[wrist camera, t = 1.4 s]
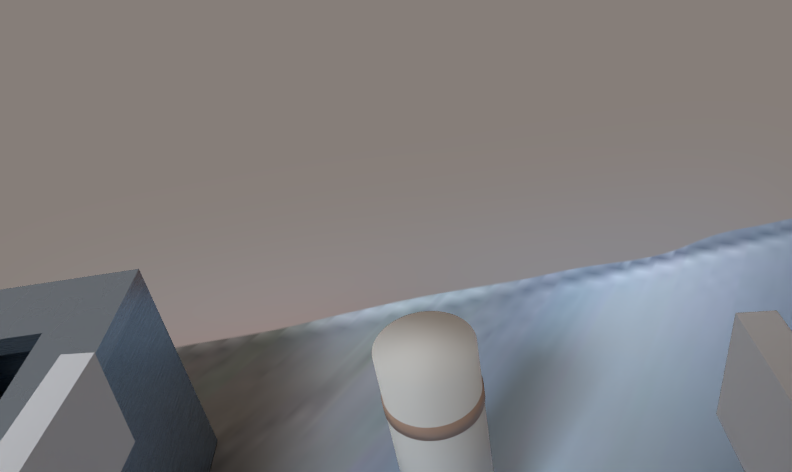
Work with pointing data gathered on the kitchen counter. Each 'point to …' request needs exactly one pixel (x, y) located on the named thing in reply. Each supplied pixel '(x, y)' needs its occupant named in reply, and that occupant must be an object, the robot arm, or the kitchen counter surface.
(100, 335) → the grey box with opening
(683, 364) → the kitchen counter surface
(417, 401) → the coin roll
